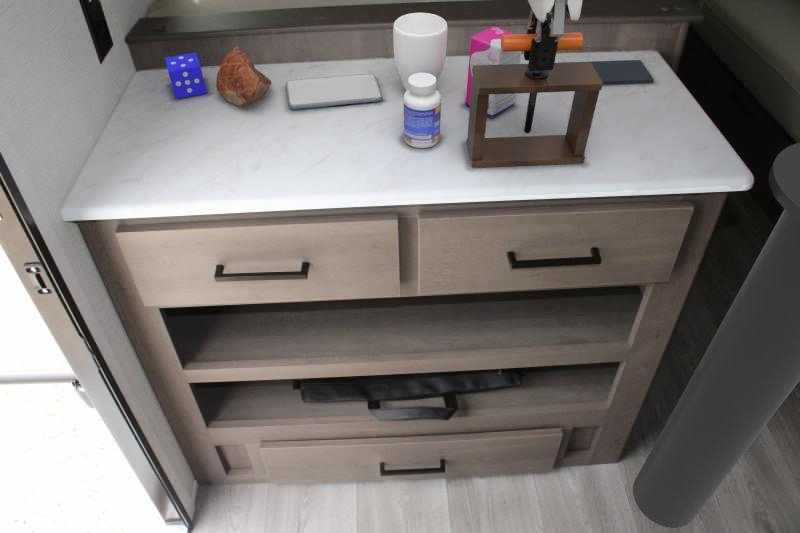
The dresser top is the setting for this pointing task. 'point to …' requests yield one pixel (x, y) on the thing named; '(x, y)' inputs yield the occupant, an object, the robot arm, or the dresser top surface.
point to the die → (186, 75)
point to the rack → (532, 147)
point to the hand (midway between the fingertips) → (538, 63)
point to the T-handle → (524, 44)
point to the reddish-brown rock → (240, 79)
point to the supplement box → (489, 53)
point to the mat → (622, 72)
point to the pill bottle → (422, 111)
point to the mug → (419, 45)
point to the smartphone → (333, 91)
